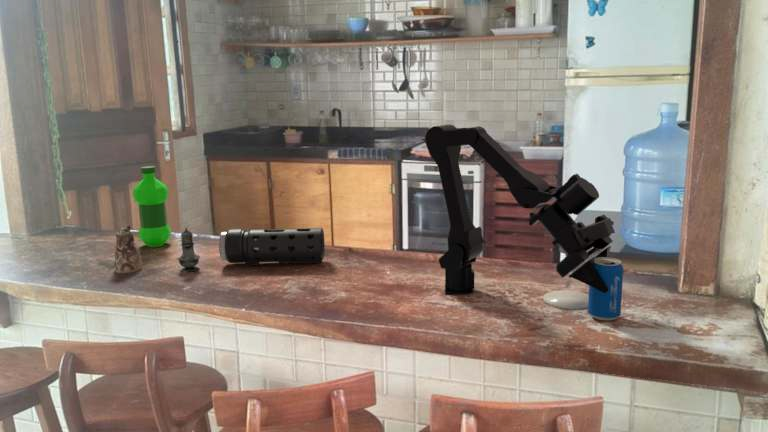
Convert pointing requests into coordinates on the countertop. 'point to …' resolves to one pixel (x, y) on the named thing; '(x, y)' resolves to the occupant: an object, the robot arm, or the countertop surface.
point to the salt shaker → (188, 254)
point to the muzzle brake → (272, 246)
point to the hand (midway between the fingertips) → (612, 287)
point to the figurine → (126, 252)
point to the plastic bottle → (152, 209)
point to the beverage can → (609, 302)
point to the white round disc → (567, 299)
